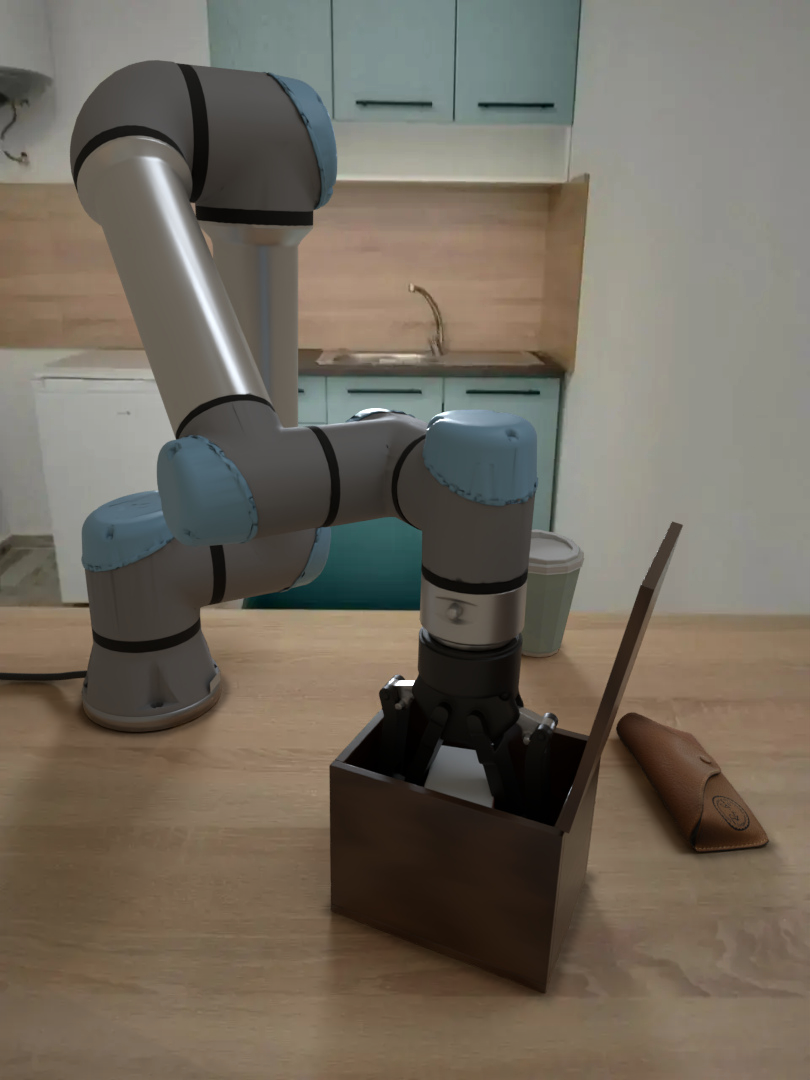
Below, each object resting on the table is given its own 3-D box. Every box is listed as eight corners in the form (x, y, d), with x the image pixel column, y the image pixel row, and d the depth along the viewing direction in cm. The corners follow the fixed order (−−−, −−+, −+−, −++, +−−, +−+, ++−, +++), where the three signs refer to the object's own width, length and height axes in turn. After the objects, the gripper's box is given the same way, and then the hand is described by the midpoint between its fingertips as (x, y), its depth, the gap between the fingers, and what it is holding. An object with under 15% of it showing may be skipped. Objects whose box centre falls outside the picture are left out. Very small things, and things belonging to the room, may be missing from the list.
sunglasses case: (778, 842, 74) (753, 791, 72) (708, 879, 74) (681, 830, 72) (687, 729, 91) (664, 685, 88) (630, 761, 91) (606, 717, 89)
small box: (483, 927, 64) (492, 815, 60) (412, 914, 65) (416, 803, 61) (495, 855, 71) (503, 752, 67) (431, 845, 72) (436, 742, 69)
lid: (640, 584, 47) (654, 589, 47) (671, 521, 58) (683, 524, 57) (557, 829, 54) (569, 834, 54) (598, 732, 65) (608, 736, 65)
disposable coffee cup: (587, 642, 111) (599, 537, 106) (555, 675, 102) (567, 563, 97) (515, 622, 116) (523, 521, 111) (479, 652, 108) (486, 544, 102)
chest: (330, 911, 66) (328, 765, 61) (397, 817, 77) (400, 687, 72) (545, 994, 59) (562, 837, 54) (585, 878, 70) (603, 739, 65)
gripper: (328, 621, 60) (330, 873, 68) (592, 683, 53) (560, 957, 61) (374, 584, 67) (371, 819, 75) (616, 635, 59) (583, 889, 67)
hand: (456, 881), depth 68 cm, fingers closed on small box, 6 cm apart
